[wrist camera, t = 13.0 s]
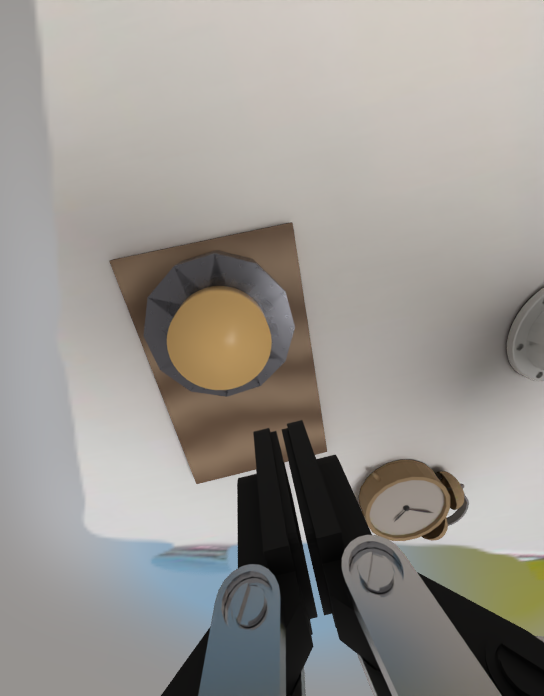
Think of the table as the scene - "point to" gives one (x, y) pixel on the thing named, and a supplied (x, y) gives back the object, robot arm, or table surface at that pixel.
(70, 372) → the table surface
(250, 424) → the mount
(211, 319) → the cap
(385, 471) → the alarm clock
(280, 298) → the grey faceted ring
